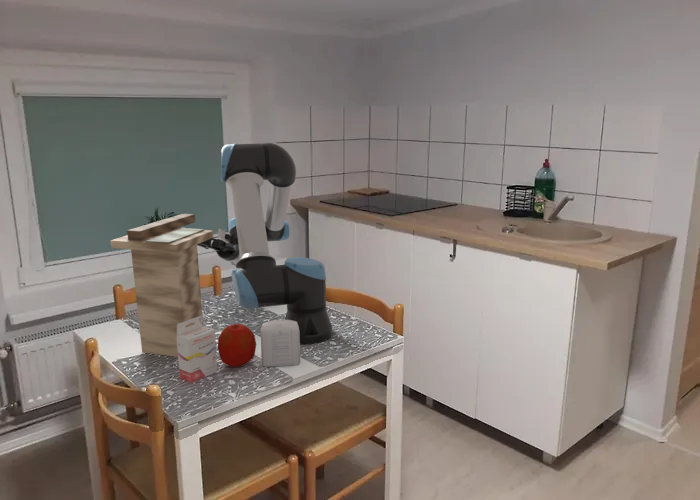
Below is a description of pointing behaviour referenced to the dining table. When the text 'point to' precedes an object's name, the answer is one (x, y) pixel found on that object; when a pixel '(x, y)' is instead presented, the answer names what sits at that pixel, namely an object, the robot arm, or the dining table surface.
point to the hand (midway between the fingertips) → (199, 231)
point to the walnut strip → (160, 227)
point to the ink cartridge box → (196, 350)
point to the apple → (236, 345)
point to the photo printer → (280, 343)
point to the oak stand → (165, 284)
